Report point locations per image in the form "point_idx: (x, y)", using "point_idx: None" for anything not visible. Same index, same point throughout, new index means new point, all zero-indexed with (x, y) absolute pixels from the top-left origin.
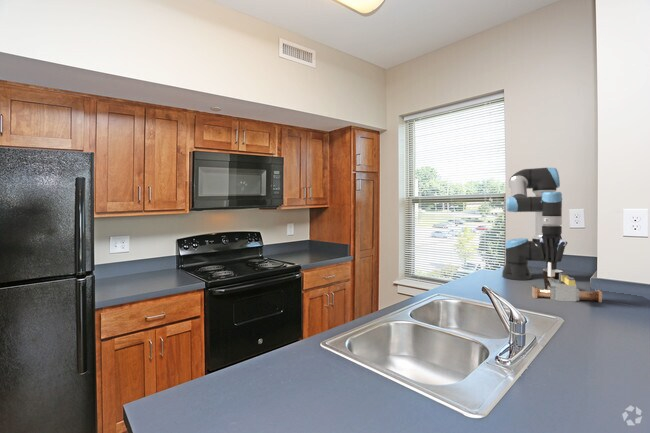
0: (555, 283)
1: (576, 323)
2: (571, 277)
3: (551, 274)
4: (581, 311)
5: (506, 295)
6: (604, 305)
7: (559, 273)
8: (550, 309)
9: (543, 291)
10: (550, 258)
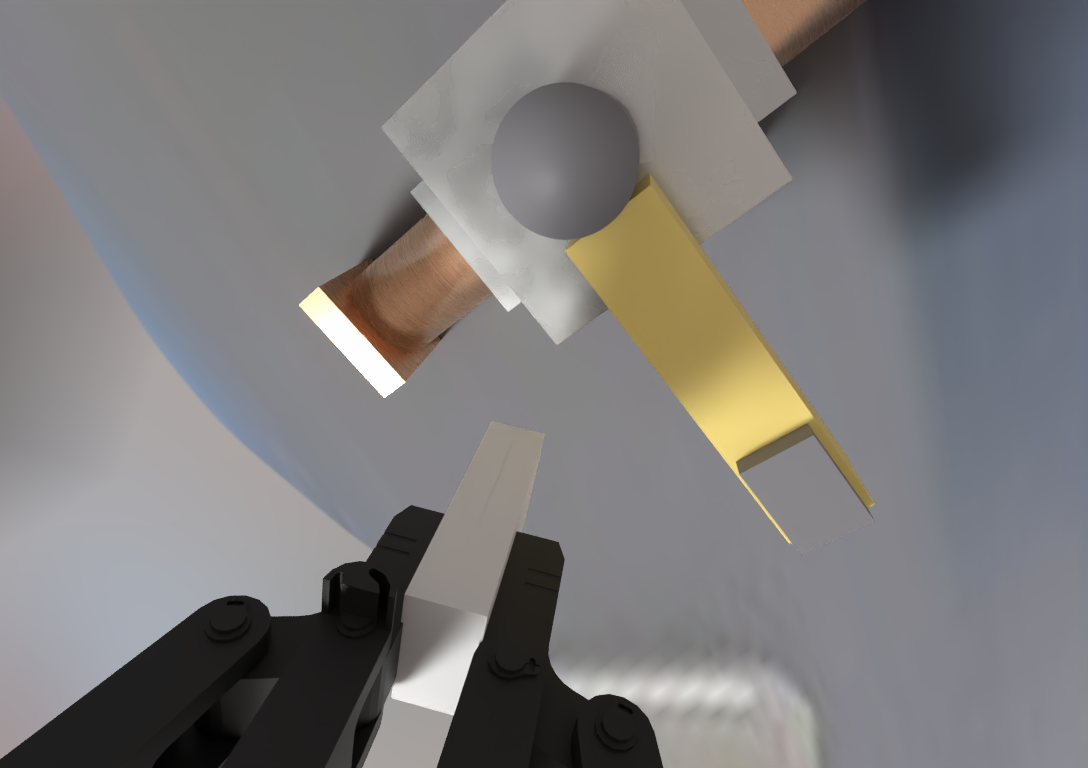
0: (550, 334)
1: (890, 717)
2: (803, 440)
3: (522, 524)
4: (865, 455)
5: (255, 450)
6: (1044, 38)
7: (502, 183)
8: (663, 564)
9: (451, 315)
10: (348, 691)
